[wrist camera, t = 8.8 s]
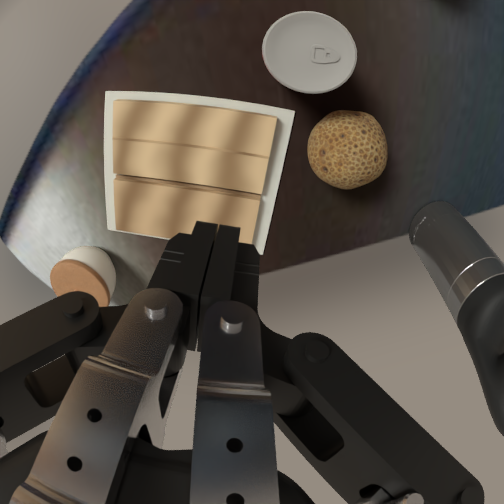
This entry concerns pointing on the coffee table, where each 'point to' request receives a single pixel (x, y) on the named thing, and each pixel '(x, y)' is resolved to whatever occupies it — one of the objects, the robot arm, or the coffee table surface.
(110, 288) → the lidded jar
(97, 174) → the coffee table surface
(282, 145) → the underlay mat
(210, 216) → the laid plank
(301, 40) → the canned food
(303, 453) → the robot arm
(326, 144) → the natural sponge
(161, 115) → the loose plank
